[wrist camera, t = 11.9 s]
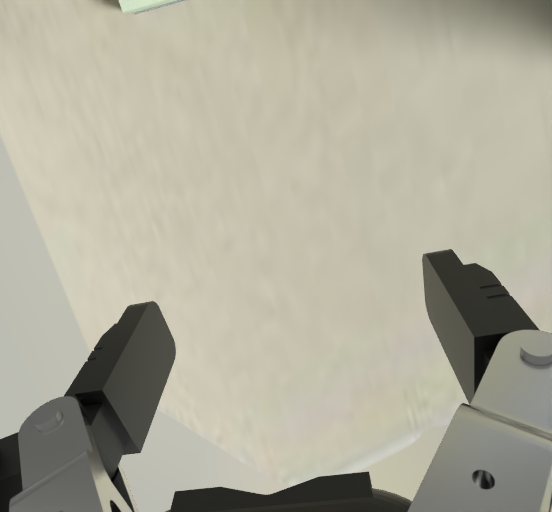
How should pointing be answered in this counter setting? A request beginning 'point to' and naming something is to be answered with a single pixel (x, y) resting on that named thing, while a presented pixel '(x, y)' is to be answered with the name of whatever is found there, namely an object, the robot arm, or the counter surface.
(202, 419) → the counter surface
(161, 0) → the board
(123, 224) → the counter surface
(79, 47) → the counter surface
